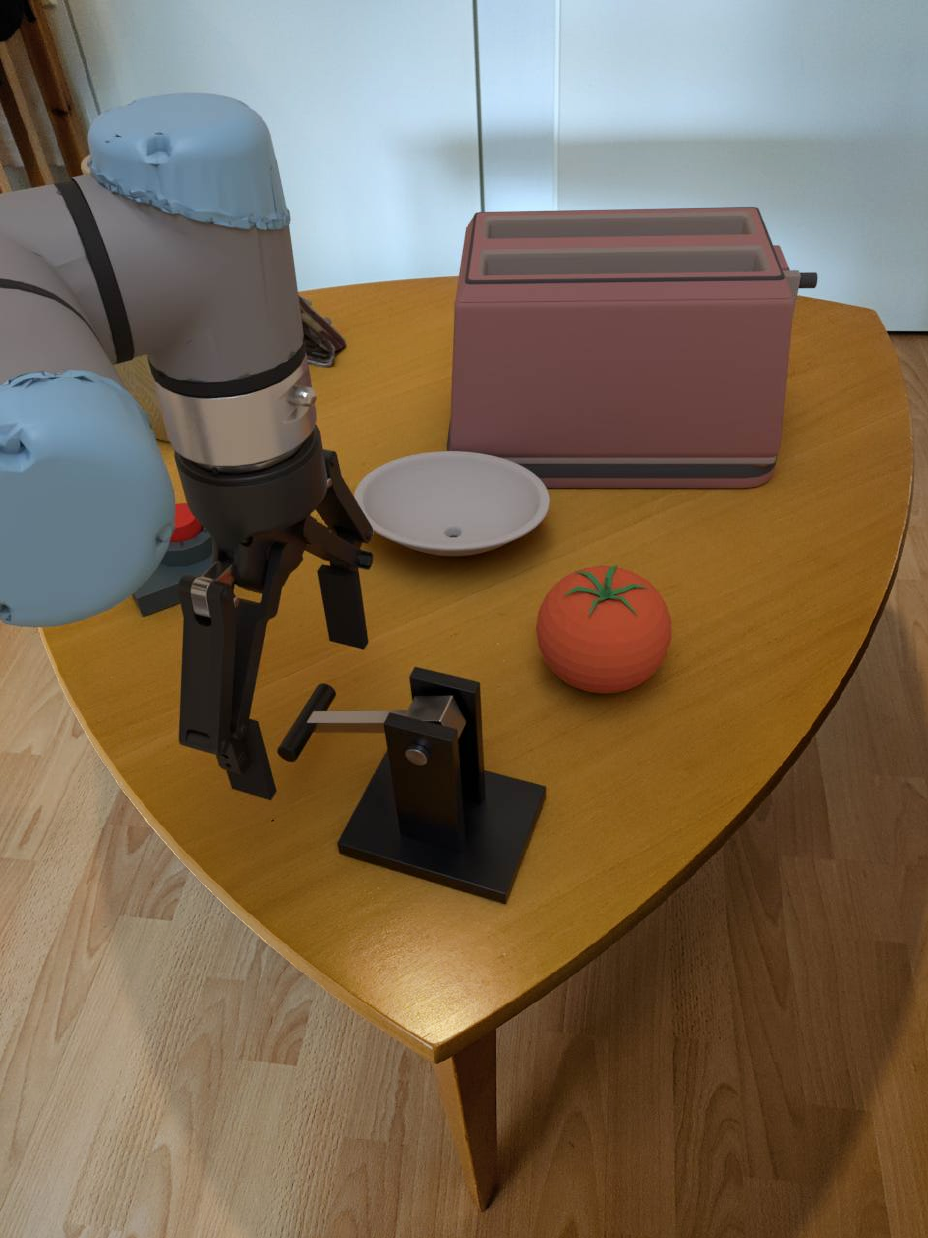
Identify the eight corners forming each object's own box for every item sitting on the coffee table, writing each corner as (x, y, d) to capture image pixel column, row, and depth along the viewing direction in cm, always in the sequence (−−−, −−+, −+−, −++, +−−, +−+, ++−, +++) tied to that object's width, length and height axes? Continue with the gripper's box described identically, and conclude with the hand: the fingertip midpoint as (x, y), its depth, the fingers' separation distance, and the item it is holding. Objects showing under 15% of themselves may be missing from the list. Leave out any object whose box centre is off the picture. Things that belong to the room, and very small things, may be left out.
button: (168, 548, 87) (163, 532, 86) (156, 526, 89) (151, 511, 88) (207, 534, 88) (203, 518, 87) (194, 513, 91) (190, 498, 89)
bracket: (338, 854, 68) (310, 732, 59) (391, 755, 74) (372, 631, 65) (506, 905, 64) (502, 784, 56) (546, 797, 70) (549, 672, 62)
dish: (338, 580, 88) (331, 536, 85) (384, 485, 99) (378, 443, 95) (534, 603, 85) (534, 558, 82) (560, 503, 95) (561, 459, 92)
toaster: (800, 491, 95) (847, 286, 81) (445, 490, 97) (432, 292, 83) (768, 386, 109) (804, 196, 95) (458, 388, 111) (448, 203, 97)
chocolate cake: (371, 346, 120) (314, 260, 119) (339, 356, 114) (279, 266, 113) (322, 388, 126) (267, 306, 125) (289, 400, 120) (232, 315, 119)
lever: (286, 767, 66) (269, 742, 64) (326, 702, 70) (311, 678, 68) (443, 772, 60) (428, 744, 58) (477, 700, 64) (463, 673, 62)
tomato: (681, 646, 81) (695, 551, 74) (643, 736, 74) (655, 641, 67) (562, 614, 84) (565, 520, 77) (515, 697, 77) (514, 603, 71)
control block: (143, 617, 86) (130, 582, 83) (112, 554, 93) (99, 520, 90) (272, 568, 90) (264, 533, 87) (234, 511, 97) (225, 477, 94)
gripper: (176, 606, 41) (263, 884, 56) (407, 333, 58) (428, 601, 73) (29, 570, 44) (150, 847, 58) (293, 316, 60) (335, 580, 75)
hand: (305, 711), depth 65 cm, fingers open, 13 cm apart
